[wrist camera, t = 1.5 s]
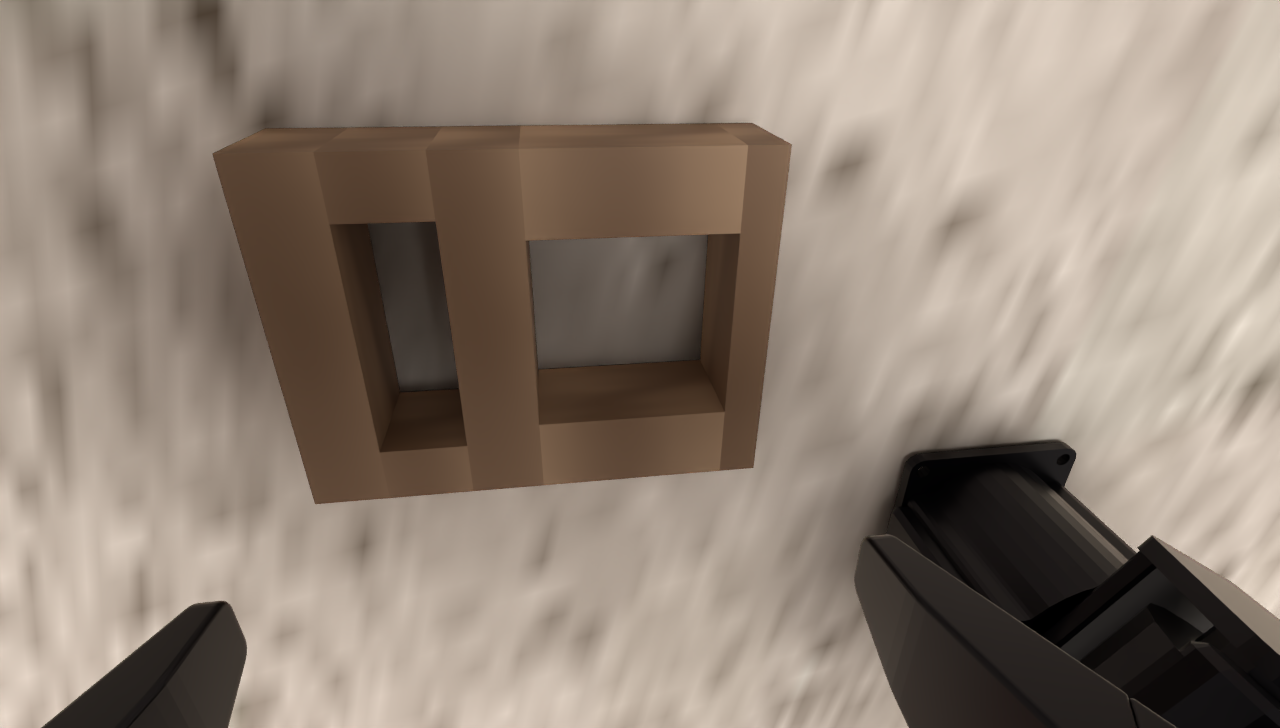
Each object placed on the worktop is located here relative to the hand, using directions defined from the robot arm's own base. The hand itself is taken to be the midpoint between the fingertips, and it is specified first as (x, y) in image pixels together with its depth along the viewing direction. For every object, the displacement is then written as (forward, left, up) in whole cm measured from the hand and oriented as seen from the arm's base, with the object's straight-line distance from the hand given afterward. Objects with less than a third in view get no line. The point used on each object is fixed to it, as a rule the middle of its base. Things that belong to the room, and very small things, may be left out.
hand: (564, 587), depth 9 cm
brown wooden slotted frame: (0, 0, -11) cm, 11 cm away
